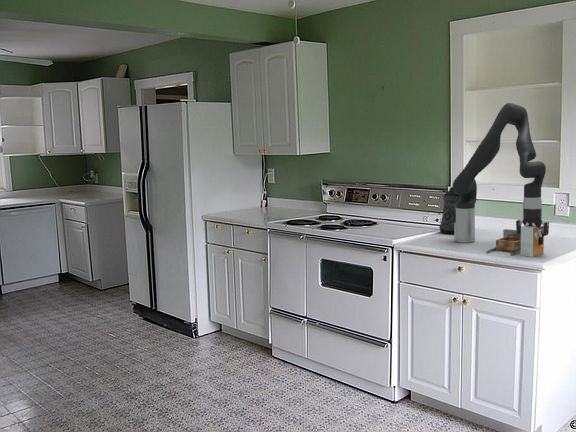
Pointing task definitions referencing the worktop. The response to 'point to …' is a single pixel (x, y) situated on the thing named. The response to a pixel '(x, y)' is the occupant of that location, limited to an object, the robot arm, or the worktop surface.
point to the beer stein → (449, 212)
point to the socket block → (508, 244)
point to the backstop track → (505, 233)
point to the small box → (531, 241)
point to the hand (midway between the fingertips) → (532, 244)
